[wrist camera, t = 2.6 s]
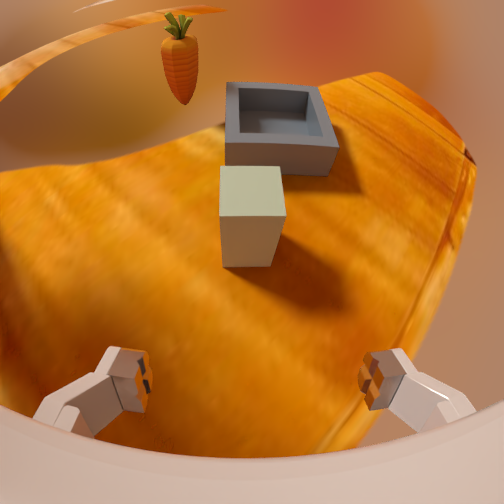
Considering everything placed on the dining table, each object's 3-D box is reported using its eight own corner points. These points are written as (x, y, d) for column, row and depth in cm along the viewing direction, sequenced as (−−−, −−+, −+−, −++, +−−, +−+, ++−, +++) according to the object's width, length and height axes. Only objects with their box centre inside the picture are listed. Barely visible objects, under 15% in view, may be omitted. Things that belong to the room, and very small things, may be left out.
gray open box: (225, 174, 32) (224, 142, 28) (226, 110, 37) (226, 82, 33) (327, 176, 33) (339, 147, 29) (310, 114, 38) (317, 87, 34)
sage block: (222, 267, 28) (219, 216, 19) (222, 225, 30) (220, 166, 21) (270, 266, 28) (286, 215, 20) (267, 225, 30) (279, 166, 22)
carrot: (208, 106, 38) (205, 12, 24) (176, 118, 36) (164, 21, 23) (193, 91, 39) (188, 5, 26) (163, 102, 38) (150, 14, 24)
